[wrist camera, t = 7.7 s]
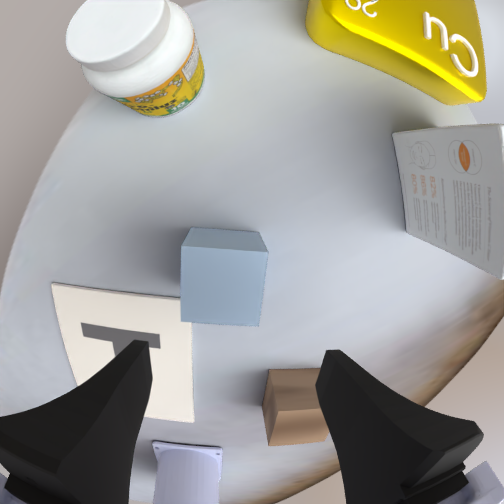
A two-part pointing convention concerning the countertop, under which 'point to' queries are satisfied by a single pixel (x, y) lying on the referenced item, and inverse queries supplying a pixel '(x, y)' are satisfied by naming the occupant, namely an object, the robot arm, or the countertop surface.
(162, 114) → the supplement bottle
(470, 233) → the small box
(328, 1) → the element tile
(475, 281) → the countertop surface
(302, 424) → the walnut block
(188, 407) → the letter card
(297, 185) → the countertop surface
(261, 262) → the dusty blue cube
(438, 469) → the robot arm
